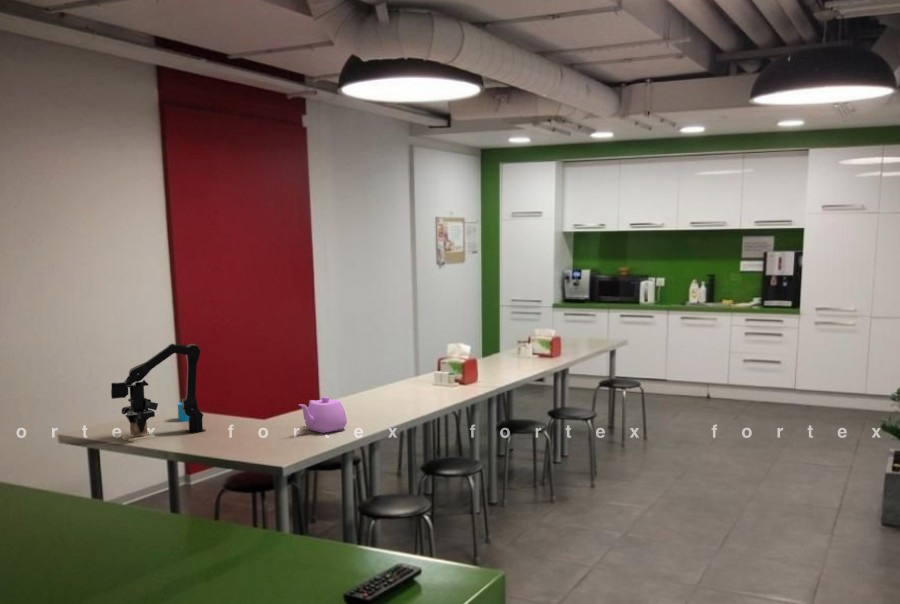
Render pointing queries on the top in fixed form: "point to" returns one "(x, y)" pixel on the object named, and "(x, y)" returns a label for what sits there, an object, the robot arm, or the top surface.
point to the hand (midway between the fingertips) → (138, 431)
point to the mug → (182, 414)
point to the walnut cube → (137, 429)
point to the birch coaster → (138, 437)
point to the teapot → (324, 415)
